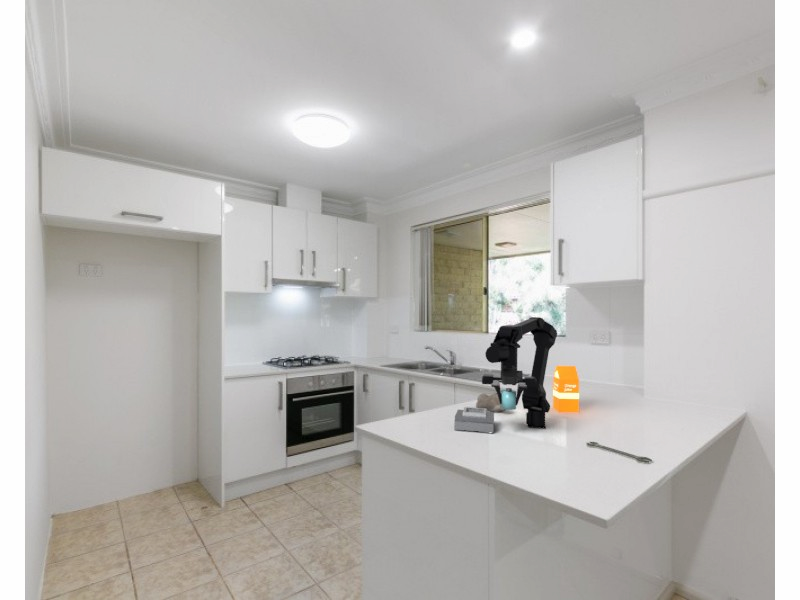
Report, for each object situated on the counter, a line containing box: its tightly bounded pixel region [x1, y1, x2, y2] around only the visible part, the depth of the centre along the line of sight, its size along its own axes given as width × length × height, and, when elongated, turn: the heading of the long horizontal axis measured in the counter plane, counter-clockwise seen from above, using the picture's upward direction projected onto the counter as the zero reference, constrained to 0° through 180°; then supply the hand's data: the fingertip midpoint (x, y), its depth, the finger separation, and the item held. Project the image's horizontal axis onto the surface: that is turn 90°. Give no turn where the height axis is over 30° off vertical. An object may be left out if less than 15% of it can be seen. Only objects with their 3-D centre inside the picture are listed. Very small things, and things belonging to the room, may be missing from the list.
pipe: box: [475, 392, 506, 413], centre depth 184 cm, size 16×9×15 cm
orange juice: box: [552, 365, 580, 414], centre depth 186 cm, size 8×9×20 cm
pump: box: [501, 387, 517, 411], centre depth 147 cm, size 5×5×7 cm
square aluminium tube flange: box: [453, 406, 495, 434], centre depth 157 cm, size 14×13×6 cm
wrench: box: [586, 441, 653, 465], centre depth 130 cm, size 5×2×20 cm
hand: (508, 404), depth 147 cm, fingers closed on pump, 5 cm apart
